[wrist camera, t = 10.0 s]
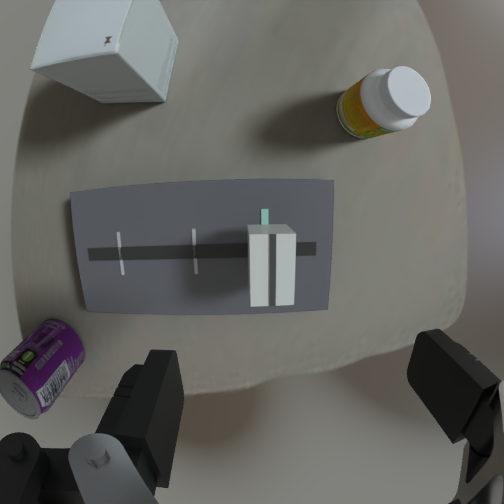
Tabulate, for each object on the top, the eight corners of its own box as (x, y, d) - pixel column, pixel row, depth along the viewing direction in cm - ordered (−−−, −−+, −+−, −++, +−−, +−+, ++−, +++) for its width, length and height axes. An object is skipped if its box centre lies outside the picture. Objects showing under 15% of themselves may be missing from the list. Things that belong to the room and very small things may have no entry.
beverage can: (55, 305, 29) (-2, 355, 17) (96, 347, 30) (51, 410, 19) (36, 335, 30) (-13, 383, 18) (73, 372, 31) (33, 429, 20)
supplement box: (180, 39, 23) (149, -33, 10) (166, 104, 24) (116, 55, 12) (115, 42, 22) (59, -13, 10) (99, 104, 24) (26, 71, 12)
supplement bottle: (349, 146, 26) (399, 135, 17) (325, 97, 25) (365, 64, 15) (390, 129, 26) (448, 116, 16) (368, 83, 24) (418, 53, 15)
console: (84, 190, 26) (69, 192, 23) (324, 179, 27) (334, 180, 24) (98, 300, 29) (86, 312, 26) (319, 297, 30) (327, 310, 27)
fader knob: (246, 222, 24) (249, 234, 19) (283, 221, 24) (296, 233, 19) (248, 279, 25) (250, 307, 20) (282, 278, 25) (294, 305, 20)
